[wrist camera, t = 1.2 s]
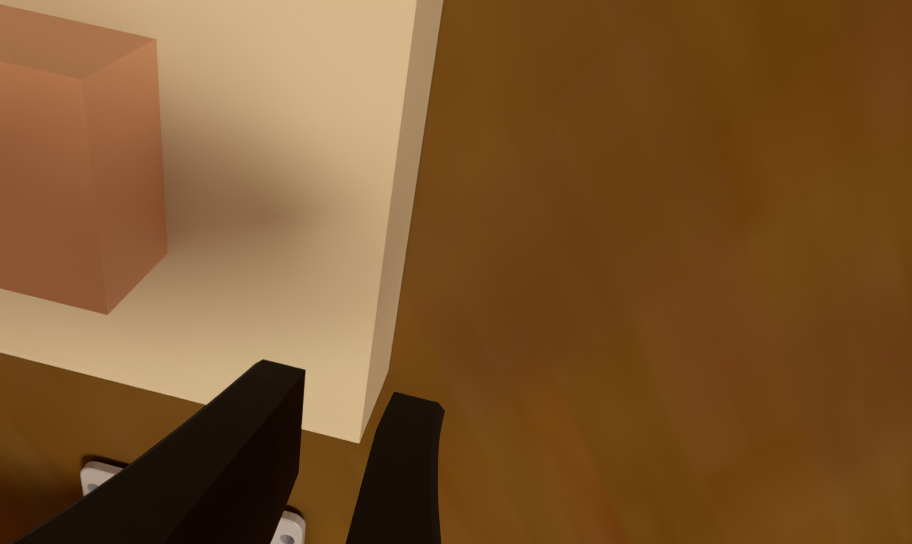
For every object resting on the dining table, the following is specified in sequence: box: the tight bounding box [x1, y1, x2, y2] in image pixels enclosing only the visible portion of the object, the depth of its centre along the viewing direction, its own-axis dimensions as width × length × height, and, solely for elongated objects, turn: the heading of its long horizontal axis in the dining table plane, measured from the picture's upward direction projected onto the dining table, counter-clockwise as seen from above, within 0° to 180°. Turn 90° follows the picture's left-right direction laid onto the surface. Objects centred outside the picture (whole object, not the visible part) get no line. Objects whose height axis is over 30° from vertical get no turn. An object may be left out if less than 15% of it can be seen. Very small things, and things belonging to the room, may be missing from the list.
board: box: [0, 0, 443, 443], centre depth 18 cm, size 14×18×3 cm
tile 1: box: [0, 4, 168, 315], centre depth 16 cm, size 5×5×2 cm
